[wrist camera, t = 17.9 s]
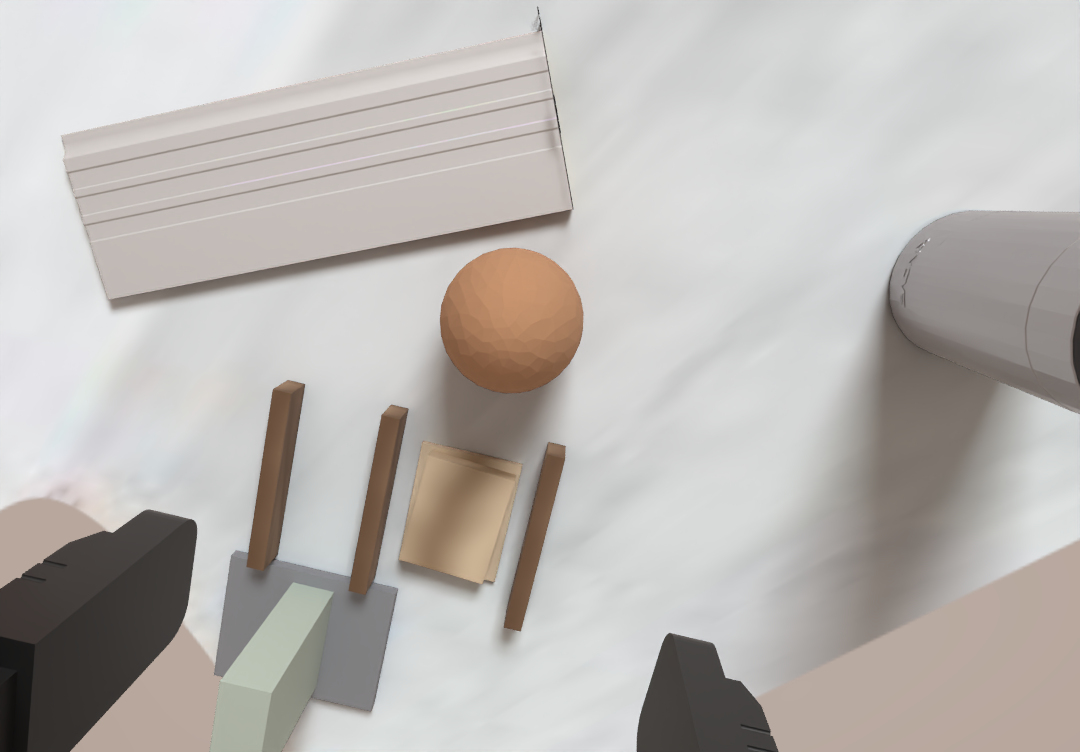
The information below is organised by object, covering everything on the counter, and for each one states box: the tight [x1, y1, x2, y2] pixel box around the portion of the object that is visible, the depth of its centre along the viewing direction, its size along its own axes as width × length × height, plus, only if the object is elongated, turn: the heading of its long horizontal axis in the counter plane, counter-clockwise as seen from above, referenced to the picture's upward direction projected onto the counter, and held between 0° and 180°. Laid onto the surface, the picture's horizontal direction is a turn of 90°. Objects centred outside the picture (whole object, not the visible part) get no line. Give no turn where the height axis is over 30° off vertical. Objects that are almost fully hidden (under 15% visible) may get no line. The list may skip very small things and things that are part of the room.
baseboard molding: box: [61, 7, 574, 300], centre depth 45 cm, size 31×3×12 cm
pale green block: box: [210, 582, 334, 752], centre depth 47 cm, size 3×8×11 cm, turn 166°
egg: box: [440, 248, 583, 393], centre depth 42 cm, size 8×8×11 cm
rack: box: [246, 380, 566, 631], centre depth 49 cm, size 19×13×2 cm
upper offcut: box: [399, 450, 516, 584], centre depth 50 cm, size 6×8×1 cm
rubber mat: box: [214, 551, 398, 711], centre depth 53 cm, size 12×10×1 cm
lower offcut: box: [399, 441, 523, 582], centre depth 51 cm, size 7×9×1 cm
